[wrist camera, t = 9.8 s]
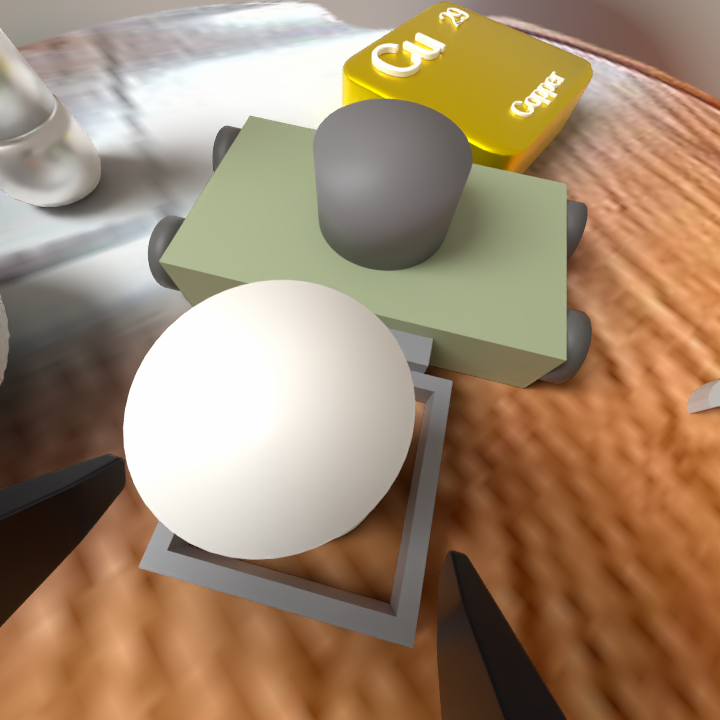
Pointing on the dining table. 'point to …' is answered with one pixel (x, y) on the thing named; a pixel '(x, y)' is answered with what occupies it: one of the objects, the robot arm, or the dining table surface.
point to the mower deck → (381, 293)
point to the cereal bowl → (3, 340)
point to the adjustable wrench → (705, 397)
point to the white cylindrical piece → (269, 419)
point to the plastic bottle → (40, 139)
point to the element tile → (474, 81)
